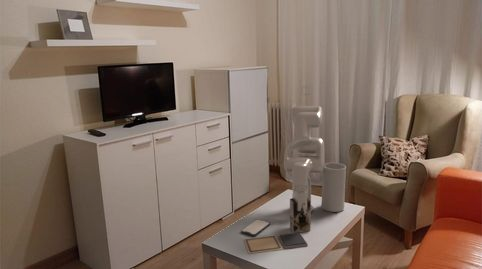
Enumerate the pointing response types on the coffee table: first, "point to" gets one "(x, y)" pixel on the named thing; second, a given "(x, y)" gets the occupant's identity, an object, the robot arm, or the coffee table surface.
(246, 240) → the marked card
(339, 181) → the cylinder vase
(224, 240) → the coffee table surface
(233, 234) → the coffee table surface
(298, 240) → the pad
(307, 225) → the coffee box
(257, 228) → the phone case
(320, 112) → the robot arm
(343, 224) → the coffee table surface
